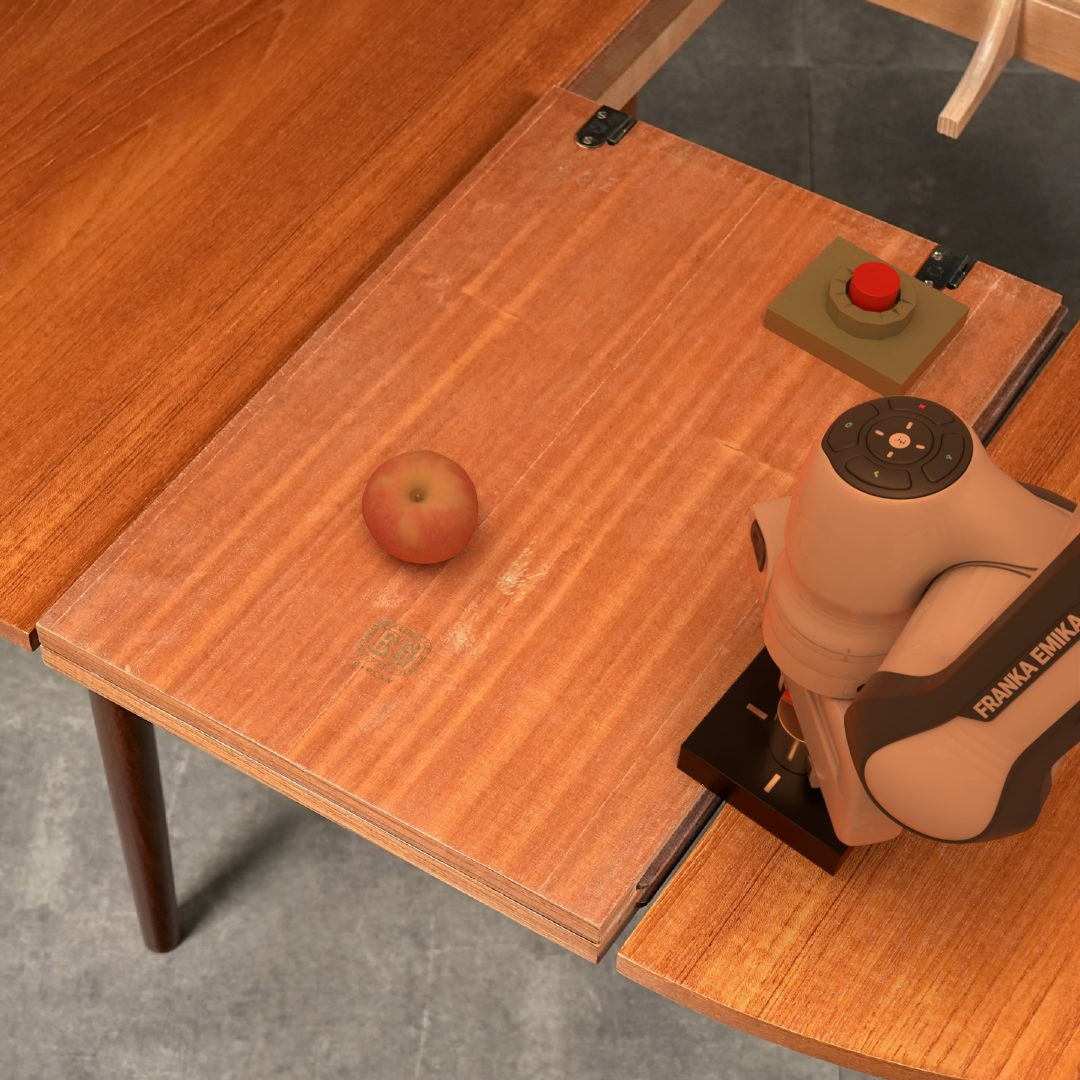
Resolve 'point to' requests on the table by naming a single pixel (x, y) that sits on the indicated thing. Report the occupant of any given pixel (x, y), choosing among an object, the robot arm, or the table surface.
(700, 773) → the panel
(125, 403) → the table surface
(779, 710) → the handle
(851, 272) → the button block
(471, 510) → the apple
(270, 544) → the table surface
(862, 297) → the button
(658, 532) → the table surface
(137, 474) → the table surface
